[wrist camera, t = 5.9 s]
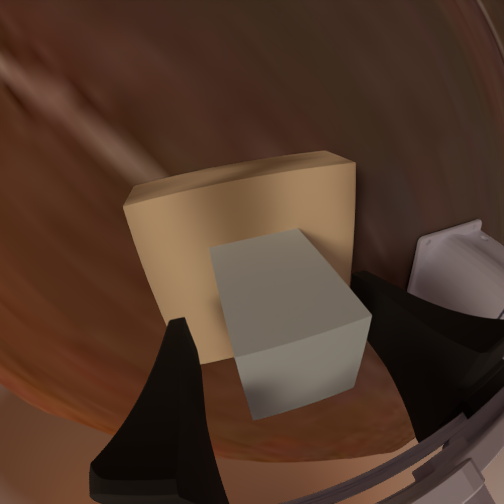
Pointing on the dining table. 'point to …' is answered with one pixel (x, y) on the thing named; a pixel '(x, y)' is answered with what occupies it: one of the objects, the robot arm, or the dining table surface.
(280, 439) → the dining table surface
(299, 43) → the dining table surface
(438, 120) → the dining table surface
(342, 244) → the maple pedestal
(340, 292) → the gray block
